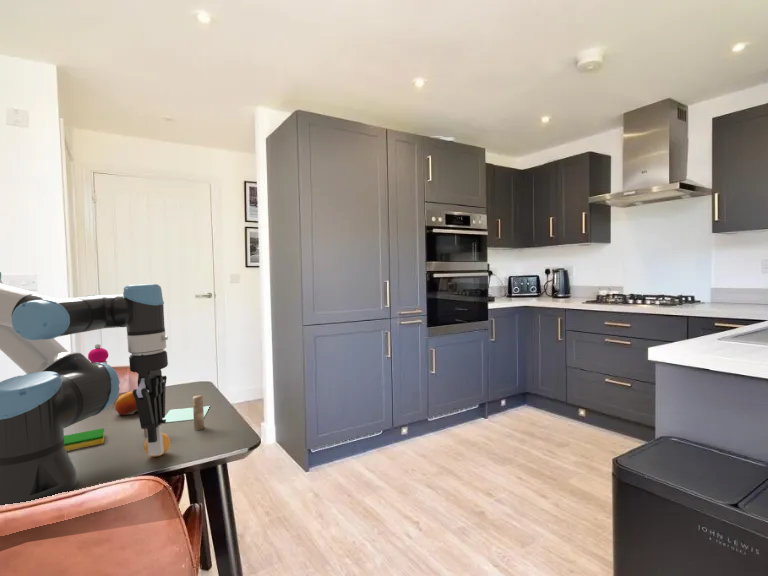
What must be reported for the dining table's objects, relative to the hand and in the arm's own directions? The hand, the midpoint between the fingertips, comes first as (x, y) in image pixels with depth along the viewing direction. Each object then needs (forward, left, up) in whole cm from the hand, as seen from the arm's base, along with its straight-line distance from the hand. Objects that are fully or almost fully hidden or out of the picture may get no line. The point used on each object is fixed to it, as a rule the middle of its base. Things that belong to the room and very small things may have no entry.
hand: (156, 453), depth 94 cm
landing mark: (-1, +35, -2) cm, 35 cm away
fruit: (-19, +43, -3) cm, 47 cm away
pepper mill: (-35, +63, -3) cm, 72 cm away
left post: (-7, +21, -2) cm, 22 cm away
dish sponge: (-25, +19, -3) cm, 31 cm away
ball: (-1, +5, 0) cm, 5 cm away
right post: (+5, +21, -2) cm, 22 cm away
